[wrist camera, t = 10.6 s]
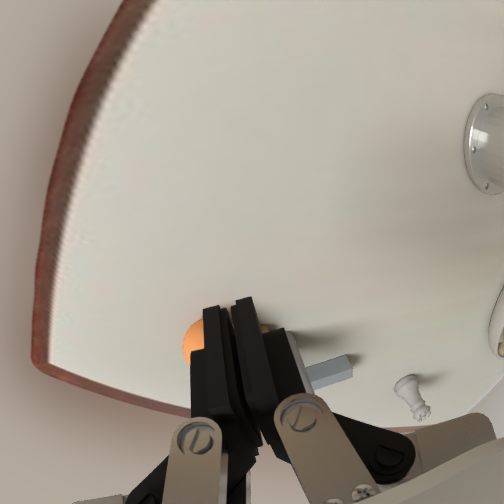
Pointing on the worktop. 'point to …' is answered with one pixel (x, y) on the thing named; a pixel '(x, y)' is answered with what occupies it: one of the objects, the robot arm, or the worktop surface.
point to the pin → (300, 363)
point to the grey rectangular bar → (329, 372)
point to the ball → (193, 339)
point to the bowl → (497, 328)
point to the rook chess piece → (412, 396)
